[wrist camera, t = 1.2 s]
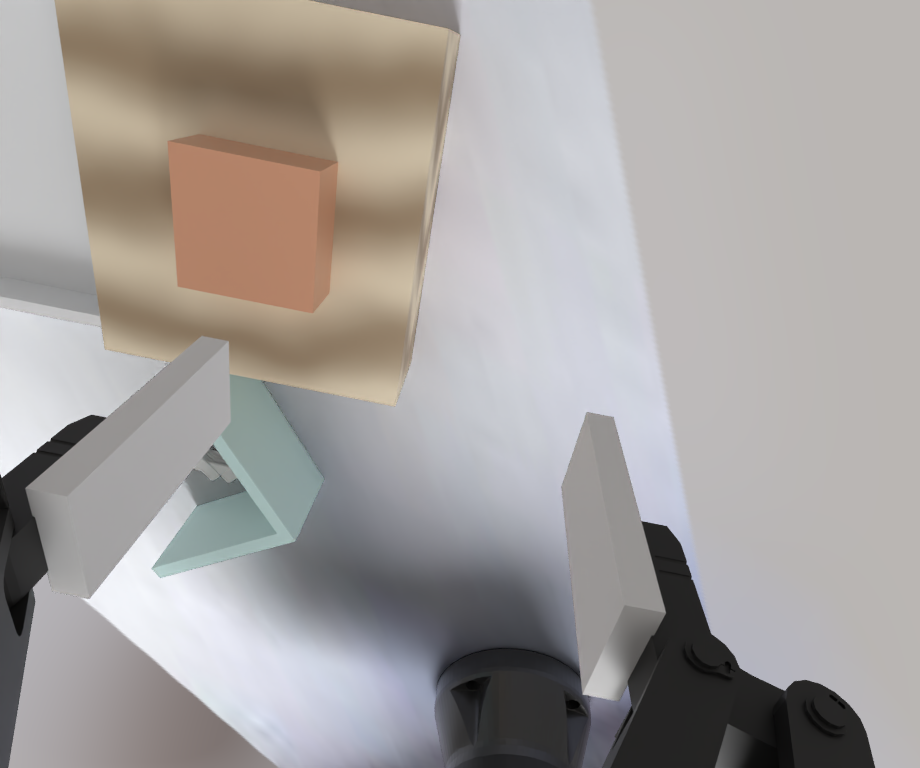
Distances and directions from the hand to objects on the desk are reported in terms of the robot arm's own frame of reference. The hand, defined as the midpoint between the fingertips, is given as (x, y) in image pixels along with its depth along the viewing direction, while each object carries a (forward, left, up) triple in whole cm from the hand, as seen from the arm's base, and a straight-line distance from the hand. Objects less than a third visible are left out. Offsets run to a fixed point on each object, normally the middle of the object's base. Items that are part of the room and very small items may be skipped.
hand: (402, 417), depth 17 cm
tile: (0, +10, -16) cm, 19 cm away
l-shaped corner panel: (-20, +16, -23) cm, 34 cm away
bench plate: (0, +11, -22) cm, 25 cm away
